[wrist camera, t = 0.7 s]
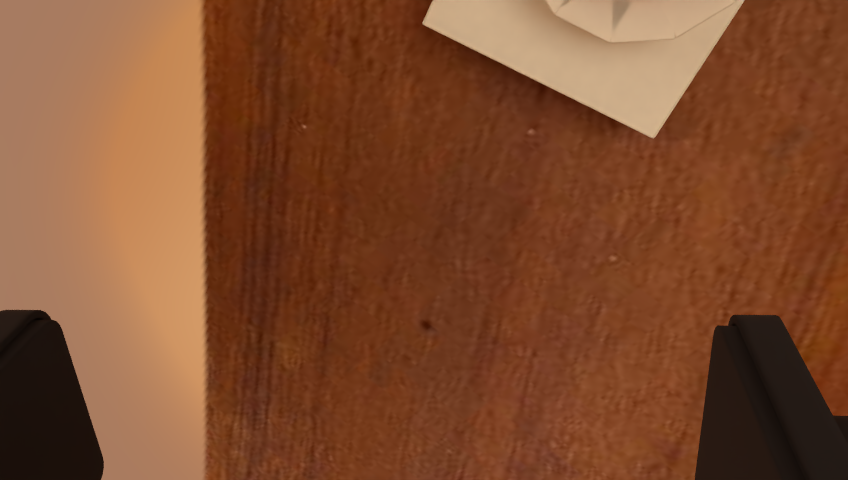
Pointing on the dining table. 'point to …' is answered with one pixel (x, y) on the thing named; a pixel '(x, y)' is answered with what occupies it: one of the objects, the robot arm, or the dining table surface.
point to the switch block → (595, 47)
